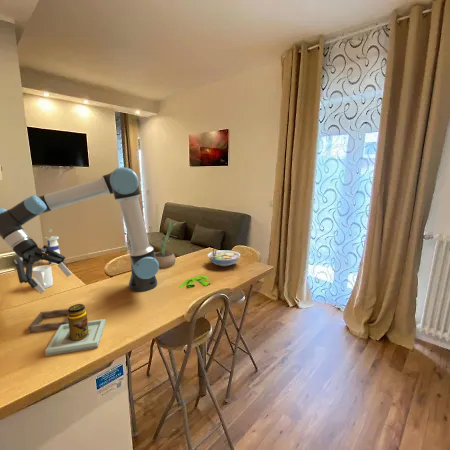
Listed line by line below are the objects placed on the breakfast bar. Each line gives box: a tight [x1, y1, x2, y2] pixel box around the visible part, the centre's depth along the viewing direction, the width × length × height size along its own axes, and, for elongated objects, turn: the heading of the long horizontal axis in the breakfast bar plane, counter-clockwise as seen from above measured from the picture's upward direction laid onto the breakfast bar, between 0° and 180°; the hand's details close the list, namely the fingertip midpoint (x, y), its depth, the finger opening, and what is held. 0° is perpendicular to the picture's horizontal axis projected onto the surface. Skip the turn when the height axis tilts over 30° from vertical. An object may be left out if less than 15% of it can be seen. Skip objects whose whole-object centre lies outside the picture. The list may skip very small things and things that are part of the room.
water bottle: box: [44, 227, 61, 265], centre depth 181 cm, size 8×9×25 cm
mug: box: [32, 264, 54, 289], centre depth 142 cm, size 9×12×11 cm
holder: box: [27, 308, 69, 334], centre depth 107 cm, size 13×12×2 cm
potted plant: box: [155, 220, 181, 269], centre depth 179 cm, size 22×18×30 cm
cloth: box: [179, 275, 211, 289], centre depth 147 cm, size 20×22×2 cm
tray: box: [44, 318, 106, 357], centre depth 97 cm, size 16×16×2 cm
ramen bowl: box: [207, 248, 241, 267], centre depth 179 cm, size 25×23×8 cm
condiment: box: [61, 303, 92, 344], centre depth 95 cm, size 7×8×12 cm
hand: (57, 283), depth 107 cm, fingers open, 13 cm apart
